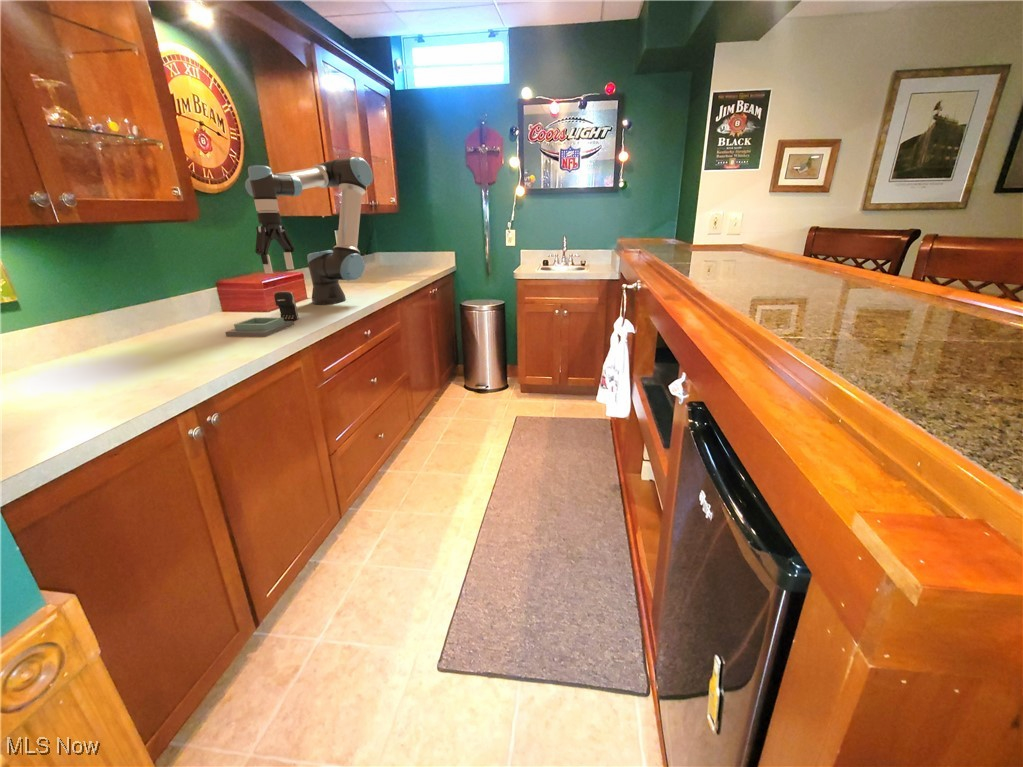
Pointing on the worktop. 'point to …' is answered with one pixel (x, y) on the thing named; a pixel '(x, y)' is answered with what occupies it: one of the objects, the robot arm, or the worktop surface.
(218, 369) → the worktop surface
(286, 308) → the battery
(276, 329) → the dock
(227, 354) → the worktop surface
